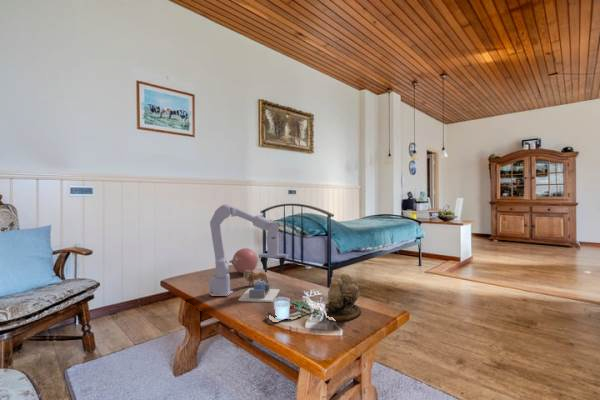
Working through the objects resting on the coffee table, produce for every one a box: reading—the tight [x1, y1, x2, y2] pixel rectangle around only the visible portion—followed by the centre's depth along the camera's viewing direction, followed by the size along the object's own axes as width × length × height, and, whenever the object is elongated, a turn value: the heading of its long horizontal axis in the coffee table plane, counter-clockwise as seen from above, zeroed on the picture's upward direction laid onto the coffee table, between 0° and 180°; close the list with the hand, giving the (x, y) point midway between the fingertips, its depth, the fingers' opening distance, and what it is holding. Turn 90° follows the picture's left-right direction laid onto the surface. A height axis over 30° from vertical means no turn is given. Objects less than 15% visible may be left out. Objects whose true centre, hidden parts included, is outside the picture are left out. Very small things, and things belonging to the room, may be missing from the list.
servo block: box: [253, 280, 266, 291], centre depth 146 cm, size 4×12×5 cm, turn 172°
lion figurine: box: [242, 270, 270, 288], centre depth 163 cm, size 15×5×9 cm, turn 124°
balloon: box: [228, 247, 259, 274], centre depth 185 cm, size 15×20×15 cm
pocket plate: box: [238, 283, 280, 303], centre depth 146 cm, size 16×16×4 cm
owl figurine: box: [324, 272, 362, 323], centre depth 122 cm, size 18×12×17 cm, turn 131°
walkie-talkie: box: [267, 303, 304, 318], centre depth 122 cm, size 9×4×20 cm
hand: (273, 272), depth 153 cm, fingers open, 7 cm apart
